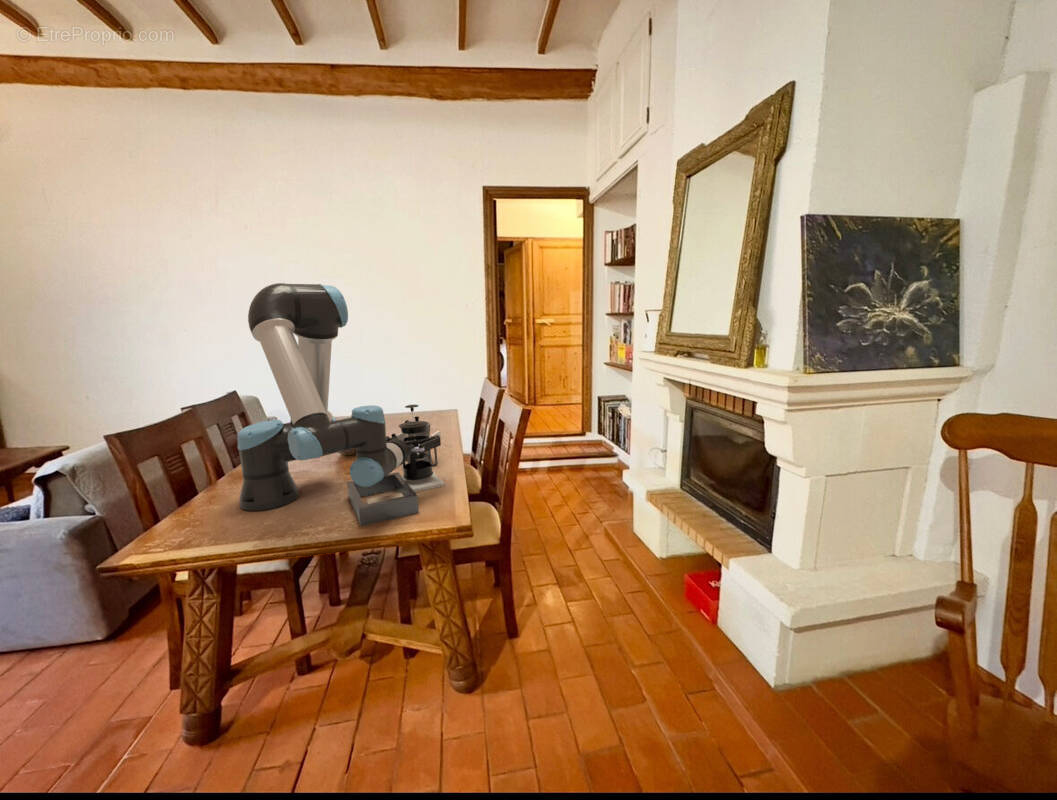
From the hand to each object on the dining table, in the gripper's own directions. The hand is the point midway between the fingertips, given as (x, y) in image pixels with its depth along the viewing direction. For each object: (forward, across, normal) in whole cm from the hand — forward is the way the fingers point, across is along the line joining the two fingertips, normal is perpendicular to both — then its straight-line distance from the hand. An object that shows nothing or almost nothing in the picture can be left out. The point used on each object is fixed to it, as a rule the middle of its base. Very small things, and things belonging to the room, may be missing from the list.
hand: (422, 434), depth 143 cm
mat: (-4, 0, -15) cm, 16 cm away
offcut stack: (-28, 0, -15) cm, 31 cm away
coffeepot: (+13, -8, -15) cm, 22 cm away
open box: (-22, -4, -15) cm, 27 cm away
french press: (-4, 0, -13) cm, 13 cm away
